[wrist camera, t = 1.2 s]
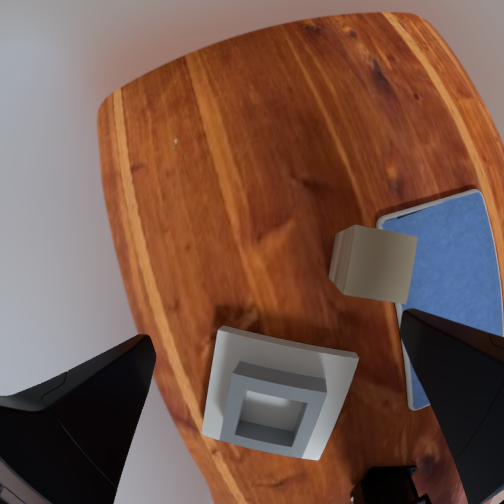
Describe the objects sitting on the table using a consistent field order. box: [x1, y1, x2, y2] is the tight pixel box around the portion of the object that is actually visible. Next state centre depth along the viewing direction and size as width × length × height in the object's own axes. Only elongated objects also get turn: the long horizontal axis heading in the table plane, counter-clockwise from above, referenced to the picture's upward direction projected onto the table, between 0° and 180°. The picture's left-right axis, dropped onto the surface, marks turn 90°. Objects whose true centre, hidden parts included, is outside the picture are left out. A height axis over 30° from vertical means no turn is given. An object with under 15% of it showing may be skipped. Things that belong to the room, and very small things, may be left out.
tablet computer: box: [376, 189, 504, 411], centre depth 20 cm, size 19×13×1 cm, turn 17°
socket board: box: [201, 325, 359, 460], centre depth 21 cm, size 12×12×4 cm
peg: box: [328, 225, 418, 304], centre depth 18 cm, size 4×4×9 cm
